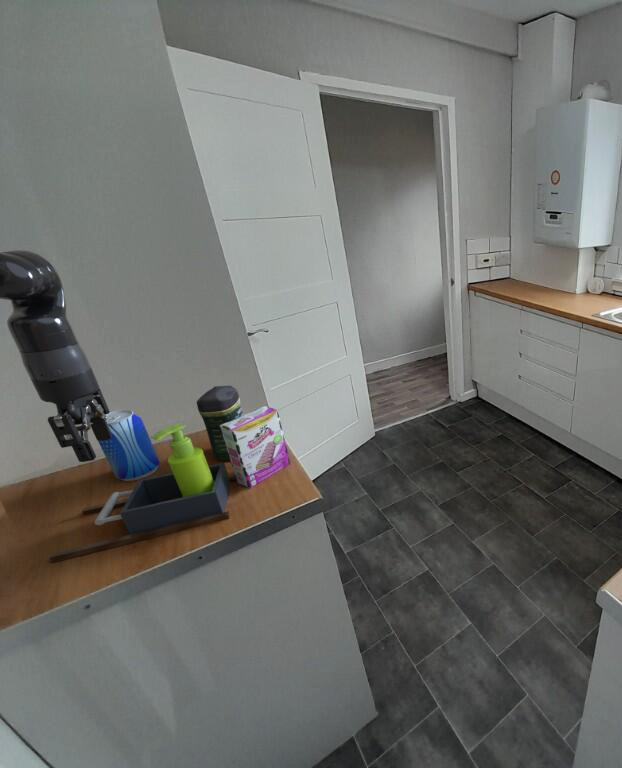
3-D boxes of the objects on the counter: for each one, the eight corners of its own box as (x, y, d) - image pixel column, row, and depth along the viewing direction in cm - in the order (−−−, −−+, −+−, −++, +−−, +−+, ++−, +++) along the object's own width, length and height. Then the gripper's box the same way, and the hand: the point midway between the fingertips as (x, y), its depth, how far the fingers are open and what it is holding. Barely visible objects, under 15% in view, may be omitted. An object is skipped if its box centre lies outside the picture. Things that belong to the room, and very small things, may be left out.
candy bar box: (251, 490, 95) (231, 430, 88) (237, 484, 97) (217, 425, 90) (293, 465, 104) (278, 409, 98) (279, 459, 106) (264, 404, 99)
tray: (100, 544, 79) (87, 520, 77) (121, 507, 89) (111, 485, 86) (223, 514, 87) (215, 492, 85) (231, 483, 97) (224, 462, 95)
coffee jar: (245, 461, 106) (225, 398, 98) (211, 465, 104) (187, 401, 96) (258, 441, 114) (240, 381, 106) (226, 444, 113) (206, 384, 105)
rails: (51, 562, 76) (48, 557, 75) (86, 512, 88) (83, 507, 87) (229, 519, 87) (227, 514, 86) (238, 479, 99) (236, 475, 98)
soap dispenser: (176, 511, 88) (142, 433, 80) (208, 492, 94) (180, 417, 86) (195, 519, 86) (162, 439, 78) (226, 498, 92) (198, 422, 84)
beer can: (112, 475, 99) (84, 418, 93) (154, 458, 106) (131, 404, 99) (124, 488, 95) (95, 430, 88) (167, 470, 101) (143, 414, 95)
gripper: (52, 360, 76) (87, 435, 83) (6, 389, 64) (52, 474, 71) (104, 354, 79) (134, 428, 86) (70, 381, 67) (108, 464, 74)
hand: (97, 449), depth 78 cm, fingers open, 7 cm apart
